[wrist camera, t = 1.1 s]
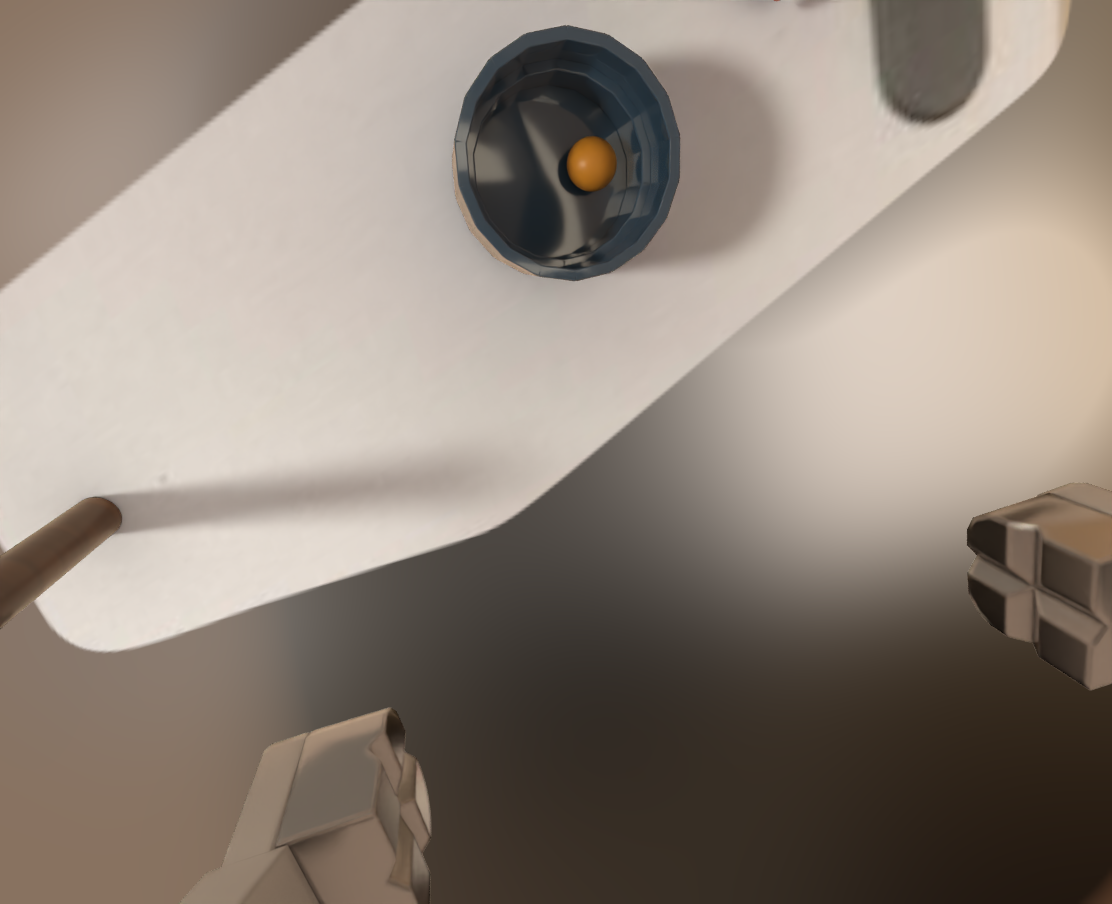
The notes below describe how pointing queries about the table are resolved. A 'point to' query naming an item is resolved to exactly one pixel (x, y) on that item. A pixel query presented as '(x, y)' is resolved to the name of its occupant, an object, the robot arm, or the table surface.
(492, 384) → the table surface
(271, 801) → the robot arm
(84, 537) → the stick
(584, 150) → the bead
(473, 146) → the bowl
